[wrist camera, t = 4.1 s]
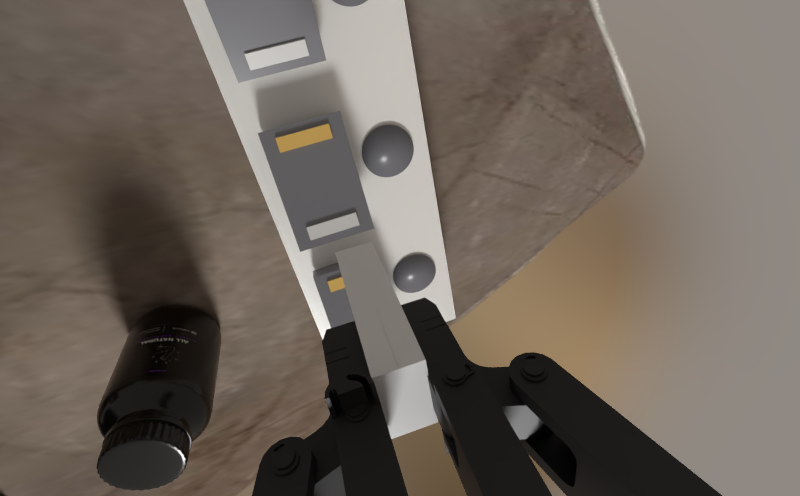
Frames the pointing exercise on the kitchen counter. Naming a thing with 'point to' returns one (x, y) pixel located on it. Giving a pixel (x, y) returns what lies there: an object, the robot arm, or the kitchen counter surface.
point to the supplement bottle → (158, 397)
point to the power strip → (351, 140)
